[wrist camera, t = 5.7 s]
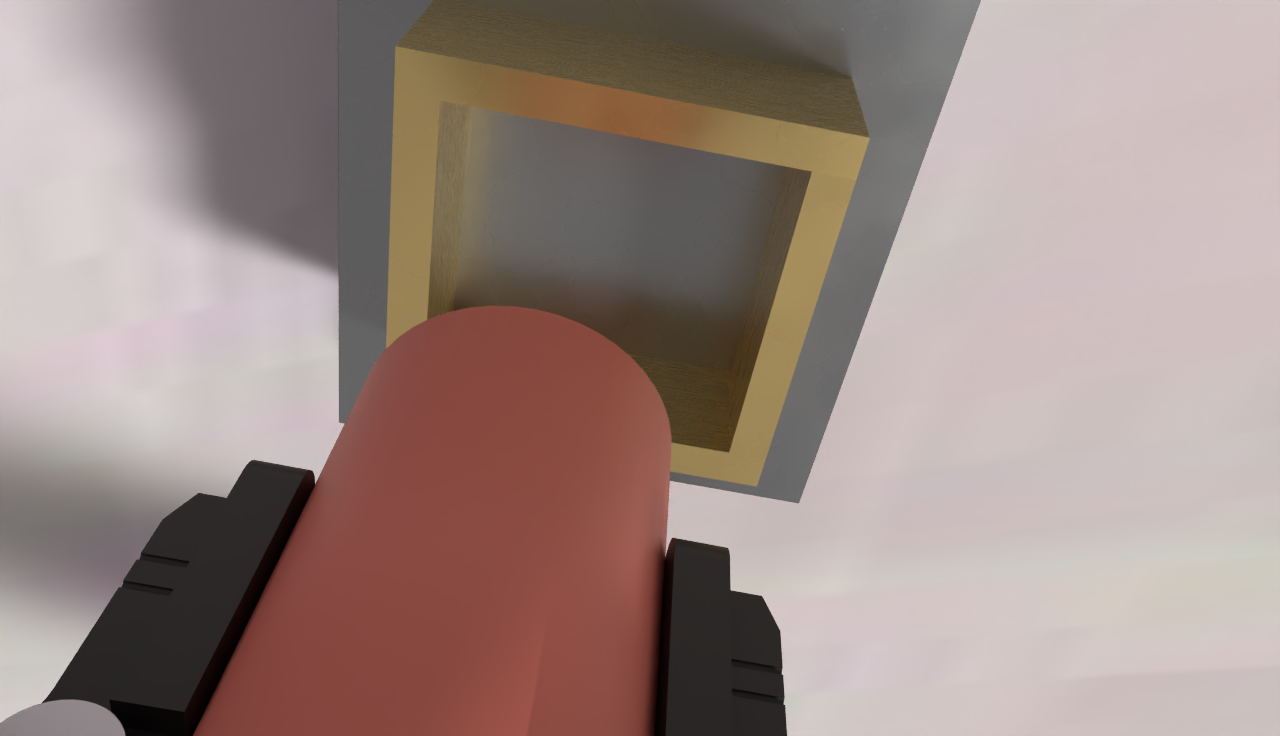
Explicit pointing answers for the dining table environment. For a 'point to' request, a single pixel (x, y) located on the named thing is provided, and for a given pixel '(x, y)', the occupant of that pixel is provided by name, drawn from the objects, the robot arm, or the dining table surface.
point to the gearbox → (643, 191)
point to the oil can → (471, 548)
